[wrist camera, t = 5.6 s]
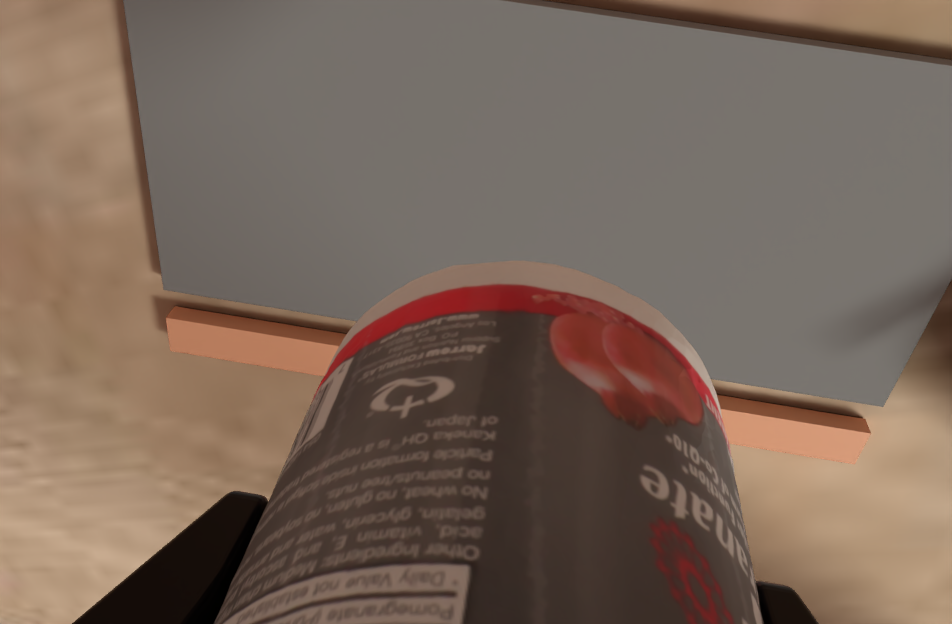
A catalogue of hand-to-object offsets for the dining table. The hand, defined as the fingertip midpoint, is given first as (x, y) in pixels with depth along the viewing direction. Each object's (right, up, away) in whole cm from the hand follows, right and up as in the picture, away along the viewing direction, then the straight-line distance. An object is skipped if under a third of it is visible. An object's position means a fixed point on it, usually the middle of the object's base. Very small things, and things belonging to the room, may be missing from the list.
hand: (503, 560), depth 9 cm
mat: (+1, +6, +11) cm, 12 cm away
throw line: (+1, +1, +14) cm, 14 cm away
